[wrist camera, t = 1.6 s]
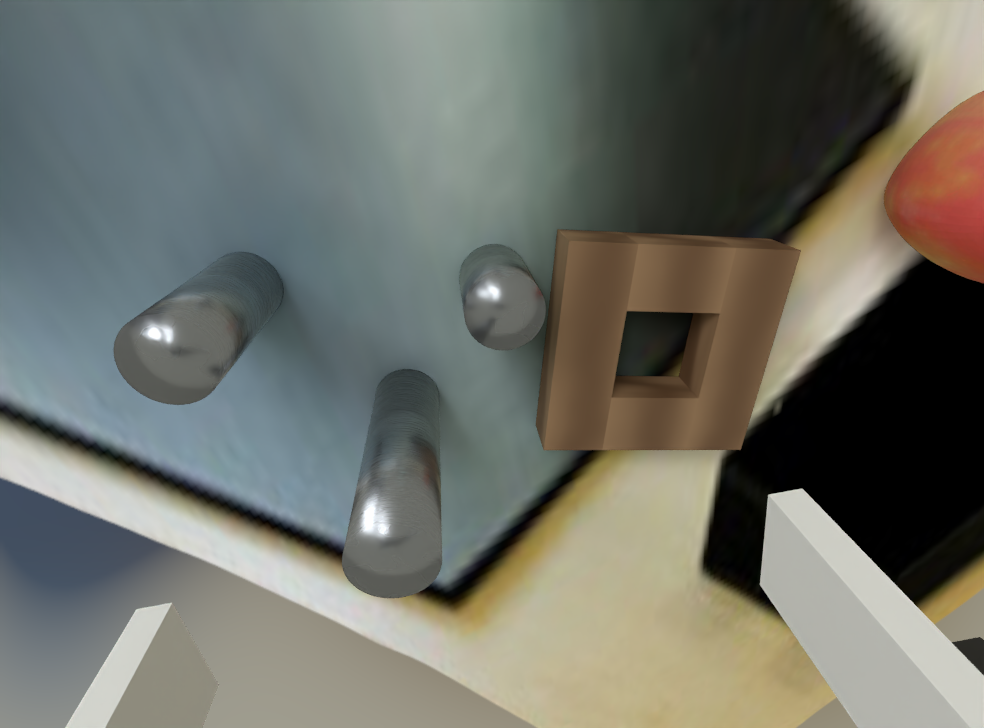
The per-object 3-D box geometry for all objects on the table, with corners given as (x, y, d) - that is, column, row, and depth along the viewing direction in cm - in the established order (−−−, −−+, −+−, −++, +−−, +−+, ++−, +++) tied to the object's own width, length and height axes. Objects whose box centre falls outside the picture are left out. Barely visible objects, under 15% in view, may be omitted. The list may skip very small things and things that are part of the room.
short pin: (457, 309, 32) (462, 349, 27) (460, 242, 31) (466, 271, 25) (523, 311, 33) (541, 350, 28) (529, 245, 31) (549, 274, 26)
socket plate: (535, 424, 36) (543, 450, 34) (557, 229, 31) (569, 241, 28) (718, 425, 38) (740, 449, 35) (770, 238, 32) (800, 250, 30)
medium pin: (214, 319, 31) (125, 404, 22) (203, 250, 30) (102, 312, 21) (286, 321, 32) (228, 405, 23) (279, 253, 30) (213, 314, 21)
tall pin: (376, 424, 35) (344, 599, 23) (374, 368, 34) (339, 524, 21) (438, 424, 36) (440, 596, 23) (439, 369, 34) (443, 523, 21)
